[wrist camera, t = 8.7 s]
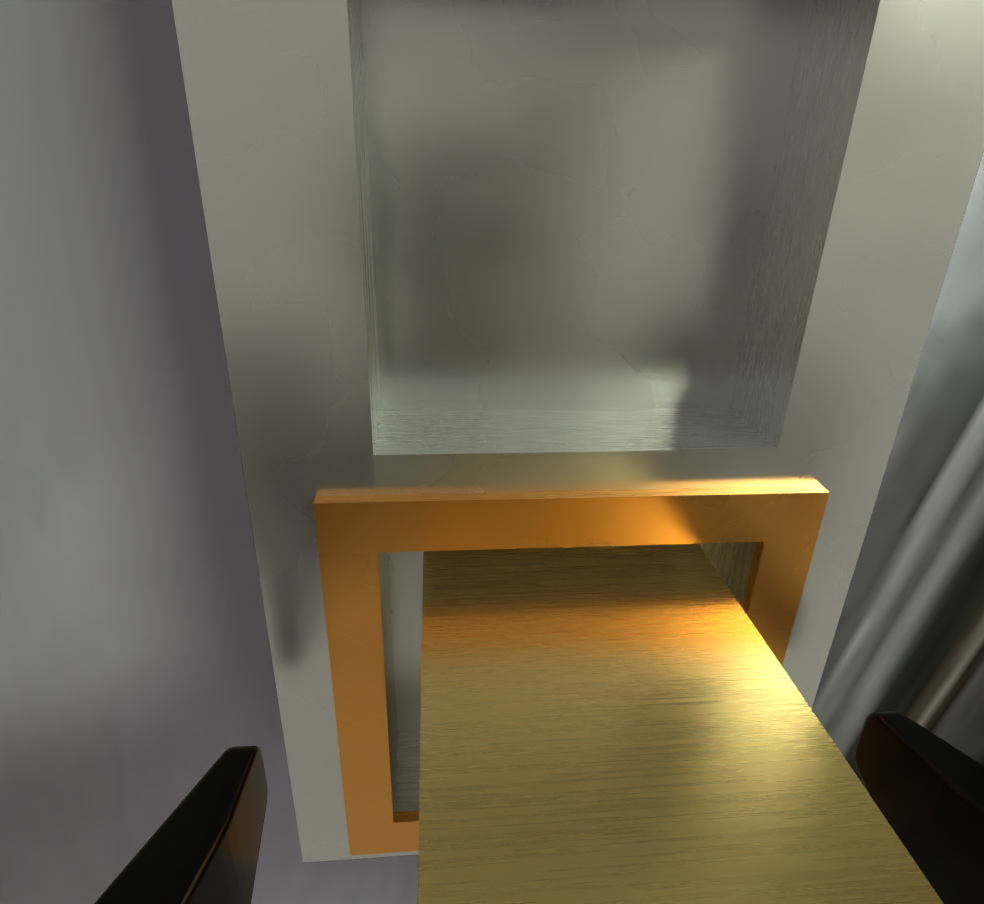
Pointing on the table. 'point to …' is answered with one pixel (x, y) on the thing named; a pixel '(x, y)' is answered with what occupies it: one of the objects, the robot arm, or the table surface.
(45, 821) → the table surface
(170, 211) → the table surface
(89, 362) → the table surface
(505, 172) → the rail
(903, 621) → the table surface
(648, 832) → the gold push button block
